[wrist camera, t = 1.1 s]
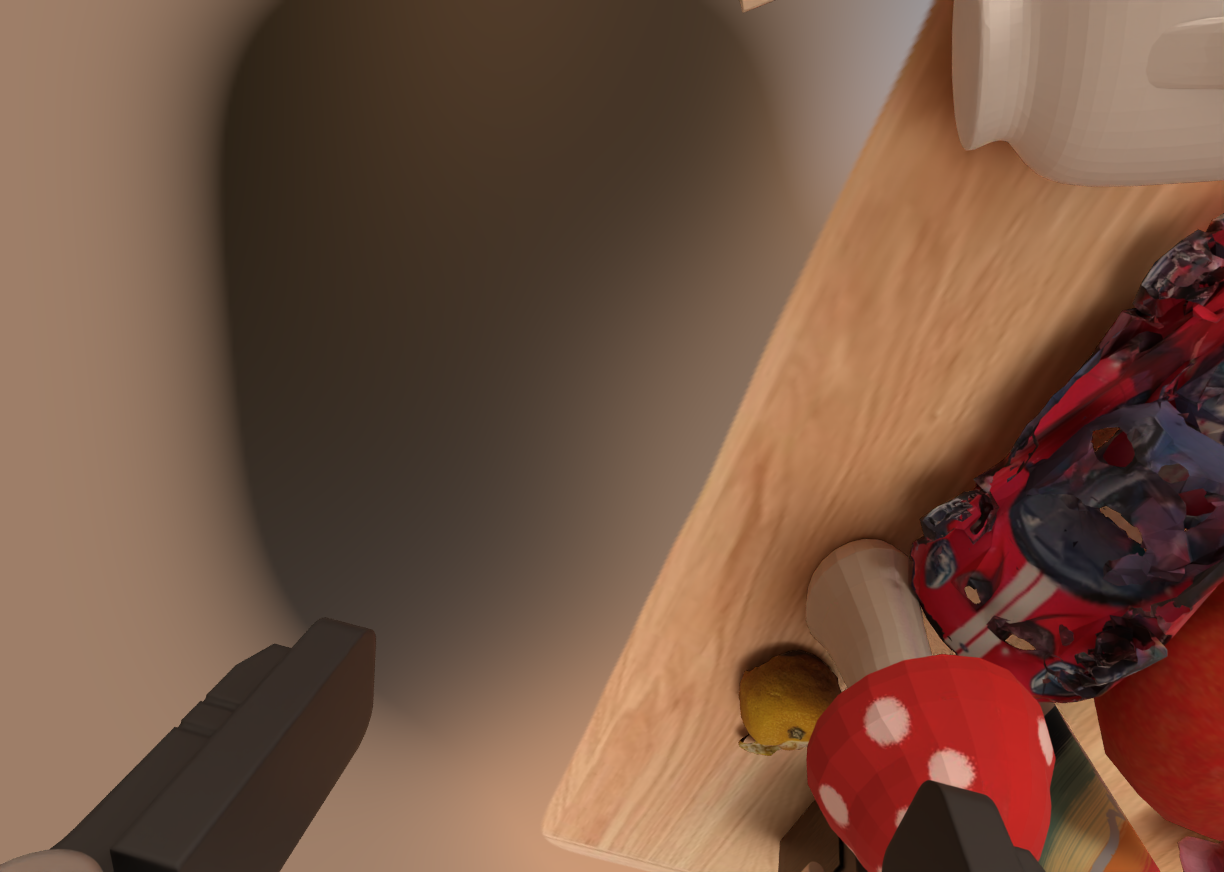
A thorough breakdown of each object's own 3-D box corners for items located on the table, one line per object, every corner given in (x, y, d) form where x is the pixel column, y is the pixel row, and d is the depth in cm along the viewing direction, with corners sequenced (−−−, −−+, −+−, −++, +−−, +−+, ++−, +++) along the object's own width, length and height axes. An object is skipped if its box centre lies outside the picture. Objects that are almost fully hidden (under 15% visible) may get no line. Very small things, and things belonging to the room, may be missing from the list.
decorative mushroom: (891, 667, 37) (1018, 992, 23) (744, 632, 36) (790, 943, 23) (980, 529, 32) (1202, 839, 19) (813, 487, 32) (920, 773, 18)
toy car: (1029, 759, 25) (1062, 731, 29) (1681, 277, 16) (1615, 318, 20) (856, 574, 31) (900, 568, 34) (1267, 139, 22) (1272, 190, 25)
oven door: (751, 827, 46) (738, 964, 38) (818, 740, 41) (819, 877, 33) (801, 852, 45) (797, 996, 38) (874, 768, 41) (887, 912, 33)
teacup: (1065, -235, 10) (2278, -679, 6) (944, -206, 21) (1374, -367, 17) (1002, 384, 17) (1548, 344, 14) (936, 171, 28) (1236, 116, 24)
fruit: (750, 754, 41) (758, 810, 38) (699, 666, 38) (702, 720, 35) (881, 721, 39) (901, 778, 36) (839, 626, 36) (856, 679, 33)
